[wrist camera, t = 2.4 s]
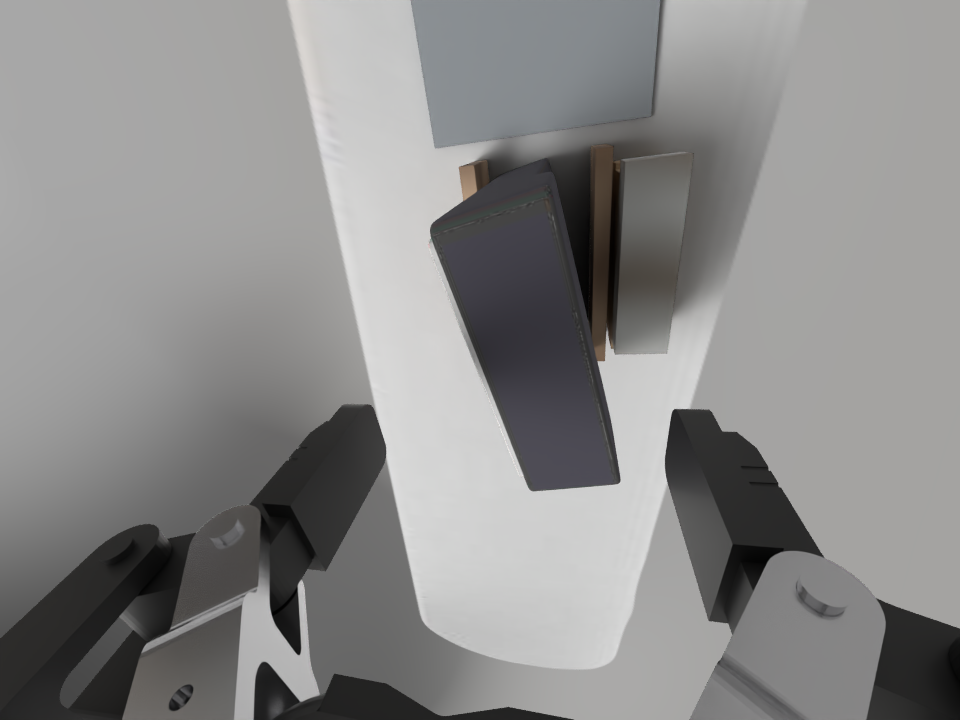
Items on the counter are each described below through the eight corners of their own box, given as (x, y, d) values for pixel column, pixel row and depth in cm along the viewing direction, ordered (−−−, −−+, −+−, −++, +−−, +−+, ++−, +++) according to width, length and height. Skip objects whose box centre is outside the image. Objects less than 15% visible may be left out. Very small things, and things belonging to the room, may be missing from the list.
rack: (474, 161, 23) (458, 167, 20) (605, 143, 21) (613, 146, 18) (495, 335, 29) (486, 362, 25) (599, 332, 27) (604, 361, 24)
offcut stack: (612, 155, 22) (625, 162, 17) (665, 148, 21) (693, 153, 17) (605, 324, 27) (614, 363, 22) (648, 322, 26) (665, 362, 22)
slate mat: (403, -61, 19) (400, -65, 18) (669, -137, 16) (671, -142, 16) (436, 148, 23) (434, 148, 23) (649, 116, 20) (651, 116, 20)
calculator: (488, 178, 23) (400, 235, 11) (558, 152, 22) (550, 182, 9) (535, 333, 28) (512, 498, 16) (595, 320, 27) (622, 490, 14)
